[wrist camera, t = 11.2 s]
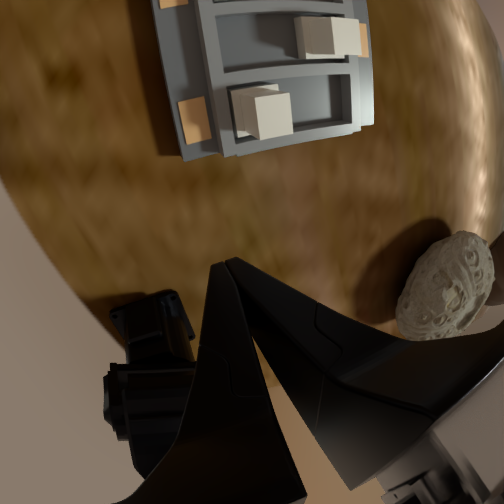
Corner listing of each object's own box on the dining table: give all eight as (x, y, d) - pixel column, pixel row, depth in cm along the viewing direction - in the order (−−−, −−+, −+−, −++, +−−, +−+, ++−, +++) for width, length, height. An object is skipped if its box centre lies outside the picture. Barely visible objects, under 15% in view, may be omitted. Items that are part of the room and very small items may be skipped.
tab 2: (336, 57, 17) (368, 59, 15) (298, 59, 17) (328, 59, 14) (332, 19, 16) (364, 16, 13) (293, 18, 15) (322, 11, 12)
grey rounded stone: (361, 323, 40) (402, 375, 32) (421, 207, 31) (484, 253, 24) (426, 311, 47) (461, 348, 40) (475, 224, 39) (519, 258, 31)
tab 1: (276, 125, 19) (301, 137, 16) (233, 134, 18) (252, 147, 16) (271, 83, 17) (297, 86, 14) (226, 90, 17) (244, 93, 14)
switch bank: (362, 121, 23) (383, 129, 21) (181, 158, 20) (187, 169, 17) (347, -36, 14) (369, -42, 12) (145, -35, 11) (147, -50, 9)
